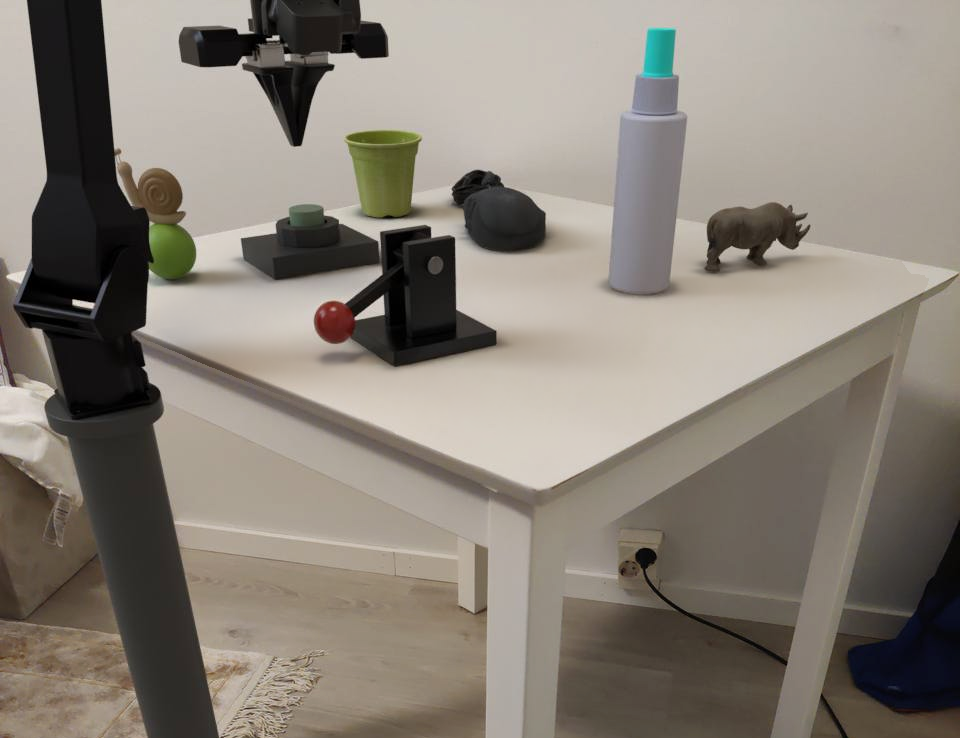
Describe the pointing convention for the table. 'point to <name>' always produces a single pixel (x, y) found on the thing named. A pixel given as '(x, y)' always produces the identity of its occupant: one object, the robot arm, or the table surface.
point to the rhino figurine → (752, 231)
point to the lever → (357, 302)
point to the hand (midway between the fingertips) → (296, 146)
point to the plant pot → (384, 170)
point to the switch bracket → (421, 304)
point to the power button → (306, 215)
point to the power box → (309, 249)
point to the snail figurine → (161, 219)
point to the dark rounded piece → (498, 213)
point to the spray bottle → (648, 174)
